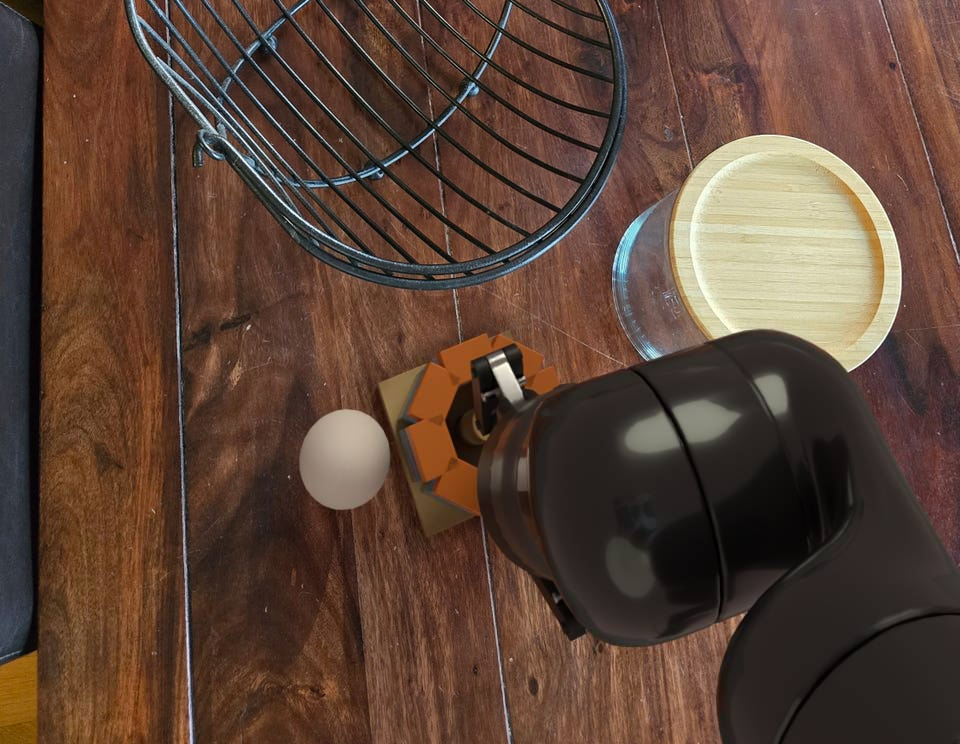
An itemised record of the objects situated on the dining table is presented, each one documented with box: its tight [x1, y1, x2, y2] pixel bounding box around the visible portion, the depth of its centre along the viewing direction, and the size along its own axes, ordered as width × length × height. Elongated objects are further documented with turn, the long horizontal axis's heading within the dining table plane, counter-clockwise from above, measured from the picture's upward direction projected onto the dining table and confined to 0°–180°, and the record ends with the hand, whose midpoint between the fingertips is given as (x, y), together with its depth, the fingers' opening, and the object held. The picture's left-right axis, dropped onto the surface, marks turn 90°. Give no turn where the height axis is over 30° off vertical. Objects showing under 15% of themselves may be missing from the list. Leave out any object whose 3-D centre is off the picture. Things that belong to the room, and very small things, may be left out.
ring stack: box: [376, 329, 515, 538], centre depth 68 cm, size 9×9×9 cm
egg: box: [298, 408, 391, 511], centre depth 67 cm, size 5×5×7 cm
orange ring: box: [405, 332, 562, 517], centre depth 64 cm, size 9×9×2 cm
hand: (508, 486), depth 63 cm, fingers closed on orange ring, 2 cm apart
